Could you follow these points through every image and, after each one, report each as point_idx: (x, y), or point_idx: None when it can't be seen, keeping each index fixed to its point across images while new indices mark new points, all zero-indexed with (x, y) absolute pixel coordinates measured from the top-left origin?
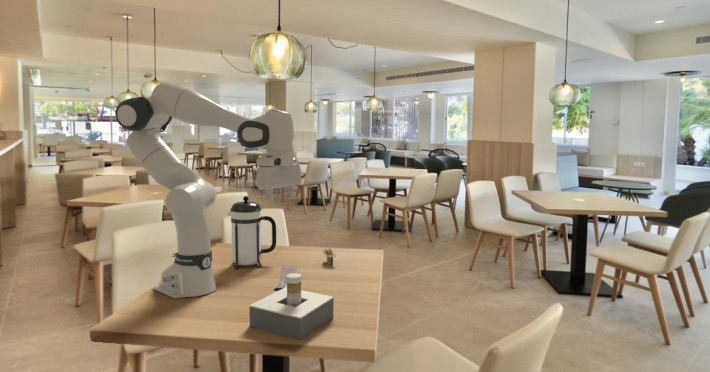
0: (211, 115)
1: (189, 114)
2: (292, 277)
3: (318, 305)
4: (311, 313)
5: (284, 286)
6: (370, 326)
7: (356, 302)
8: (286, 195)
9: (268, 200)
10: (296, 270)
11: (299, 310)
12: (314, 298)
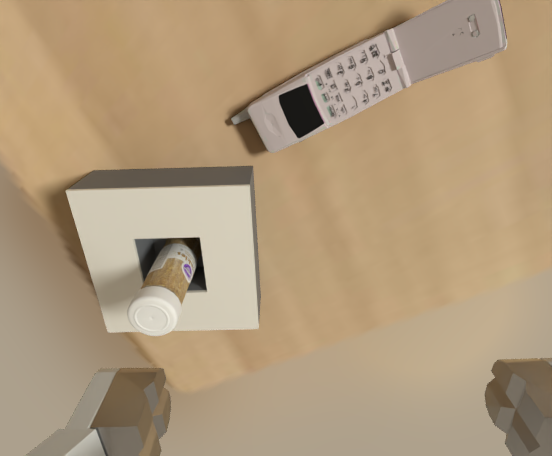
0: None
1: None
2: (133, 325)
3: (188, 328)
4: None
5: (343, 95)
6: (259, 367)
7: (365, 298)
8: (522, 409)
9: (90, 387)
10: (479, 61)
11: None
12: (220, 300)
